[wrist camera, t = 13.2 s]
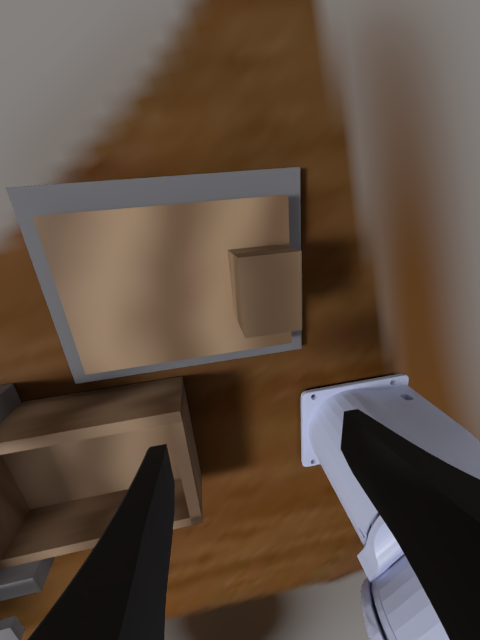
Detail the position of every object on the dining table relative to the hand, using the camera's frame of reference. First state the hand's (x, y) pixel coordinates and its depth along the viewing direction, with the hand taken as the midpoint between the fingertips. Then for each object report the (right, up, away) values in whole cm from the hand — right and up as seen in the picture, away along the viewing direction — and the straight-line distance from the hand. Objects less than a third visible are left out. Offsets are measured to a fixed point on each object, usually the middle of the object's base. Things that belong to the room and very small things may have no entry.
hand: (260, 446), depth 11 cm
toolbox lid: (-5, +7, +6) cm, 11 cm away
